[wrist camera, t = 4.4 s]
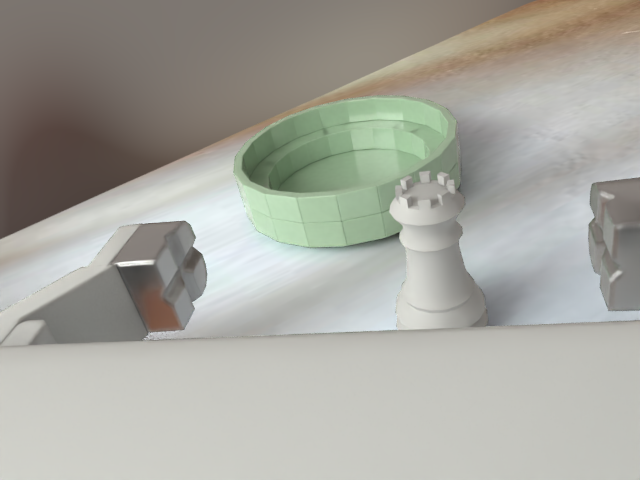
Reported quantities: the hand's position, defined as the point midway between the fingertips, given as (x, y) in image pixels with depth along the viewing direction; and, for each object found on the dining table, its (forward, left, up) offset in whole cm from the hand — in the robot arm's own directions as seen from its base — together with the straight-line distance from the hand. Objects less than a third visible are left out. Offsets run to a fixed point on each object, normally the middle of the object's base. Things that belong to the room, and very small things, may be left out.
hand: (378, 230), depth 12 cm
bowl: (-16, -22, -14) cm, 31 cm away
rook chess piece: (-9, -8, -14) cm, 19 cm away
